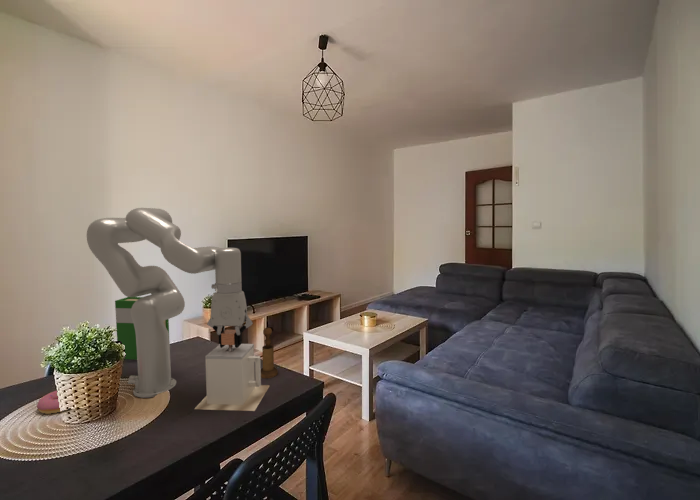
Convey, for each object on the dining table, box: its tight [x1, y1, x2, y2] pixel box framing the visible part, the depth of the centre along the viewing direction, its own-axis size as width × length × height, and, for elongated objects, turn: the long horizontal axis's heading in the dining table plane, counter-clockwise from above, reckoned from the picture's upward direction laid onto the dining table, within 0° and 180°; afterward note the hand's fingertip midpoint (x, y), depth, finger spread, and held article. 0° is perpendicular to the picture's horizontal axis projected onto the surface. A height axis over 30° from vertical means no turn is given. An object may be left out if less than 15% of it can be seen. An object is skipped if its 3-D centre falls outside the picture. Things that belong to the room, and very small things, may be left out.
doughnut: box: [36, 390, 61, 415], centre depth 107 cm, size 11×11×4 cm
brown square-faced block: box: [221, 329, 236, 351], centre depth 111 cm, size 8×8×19 cm
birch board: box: [194, 384, 271, 412], centre depth 111 cm, size 18×16×1 cm
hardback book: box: [114, 296, 170, 361], centre depth 146 cm, size 18×7×24 cm, turn 84°
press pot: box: [205, 343, 262, 405], centre depth 111 cm, size 15×11×15 cm
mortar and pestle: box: [261, 327, 279, 379], centre depth 126 cm, size 7×6×18 cm
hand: (230, 345), depth 110 cm, fingers closed on brown square-faced block, 4 cm apart
